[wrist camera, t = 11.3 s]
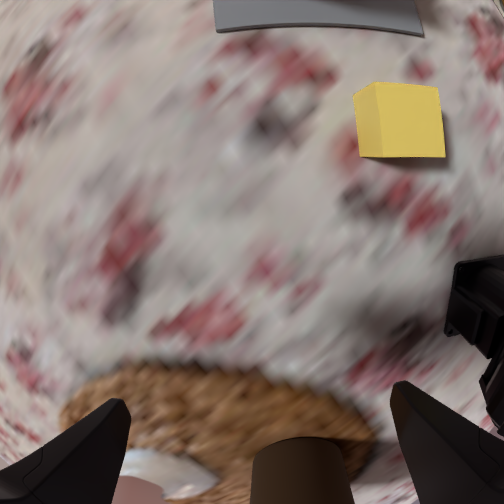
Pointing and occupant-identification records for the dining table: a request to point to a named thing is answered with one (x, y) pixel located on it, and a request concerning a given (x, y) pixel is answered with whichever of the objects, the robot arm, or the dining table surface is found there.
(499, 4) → the condiment
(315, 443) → the olive oil
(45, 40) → the dining table surface
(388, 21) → the grey panel
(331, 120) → the dining table surface
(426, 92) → the yellow block
